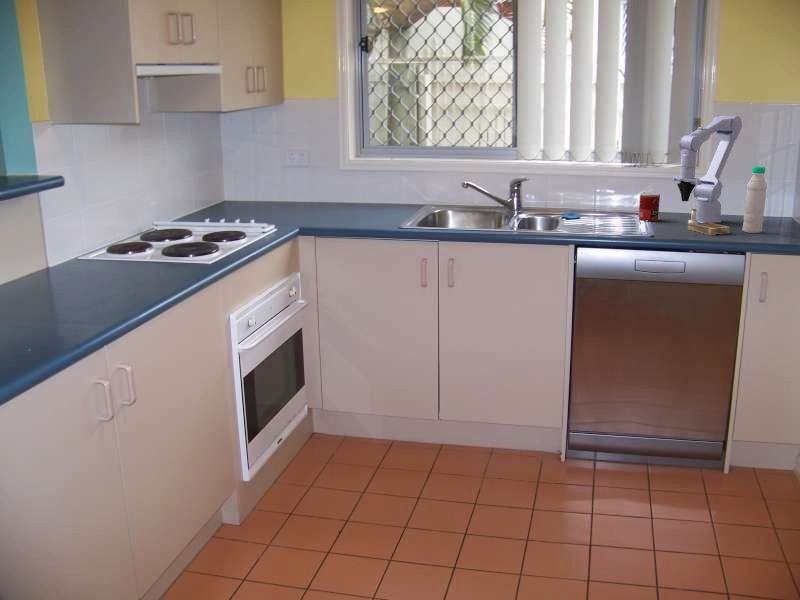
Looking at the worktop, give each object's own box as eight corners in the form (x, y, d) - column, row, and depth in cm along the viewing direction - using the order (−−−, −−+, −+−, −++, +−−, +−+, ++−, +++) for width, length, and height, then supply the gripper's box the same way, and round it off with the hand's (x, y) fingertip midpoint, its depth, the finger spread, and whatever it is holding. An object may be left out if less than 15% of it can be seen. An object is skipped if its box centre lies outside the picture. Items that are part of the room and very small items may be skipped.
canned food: (653, 222, 358) (655, 195, 356) (635, 220, 363) (637, 193, 360) (660, 219, 364) (663, 193, 362) (642, 217, 369) (644, 191, 366)
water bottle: (763, 234, 333) (770, 168, 327) (743, 233, 335) (750, 167, 328) (759, 230, 340) (766, 166, 334) (740, 230, 341) (747, 165, 335)
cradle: (706, 228, 345) (706, 221, 345) (729, 233, 334) (730, 227, 333) (687, 229, 342) (688, 223, 341) (710, 235, 331) (711, 228, 330)
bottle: (692, 227, 348) (694, 208, 346) (699, 228, 345) (700, 209, 343) (685, 227, 347) (687, 208, 345) (692, 229, 343) (693, 210, 342)
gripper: (667, 165, 349) (664, 199, 353) (692, 169, 337) (689, 204, 340) (681, 164, 352) (678, 198, 356) (707, 168, 339) (703, 203, 343)
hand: (685, 201), depth 348 cm, fingers closed
